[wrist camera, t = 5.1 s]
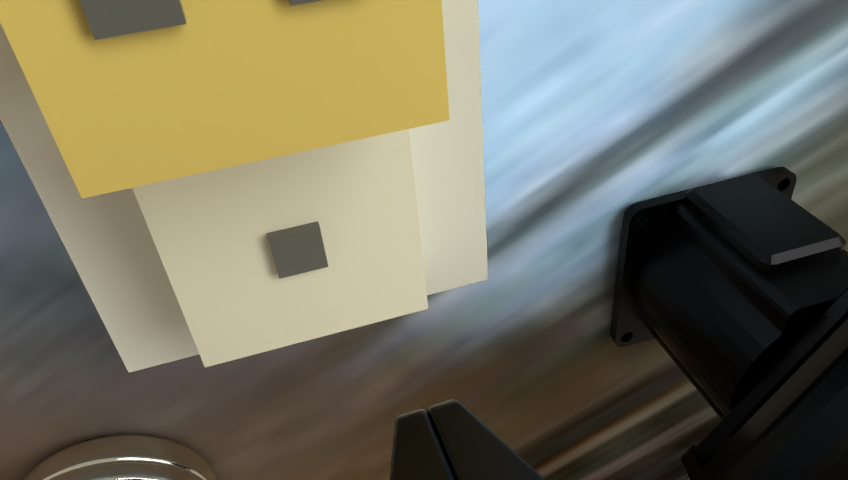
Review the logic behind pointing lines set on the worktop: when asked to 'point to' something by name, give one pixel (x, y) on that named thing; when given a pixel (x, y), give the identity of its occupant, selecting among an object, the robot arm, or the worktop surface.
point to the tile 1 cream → (291, 245)
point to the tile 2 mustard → (222, 79)
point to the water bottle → (124, 461)
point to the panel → (135, 249)
